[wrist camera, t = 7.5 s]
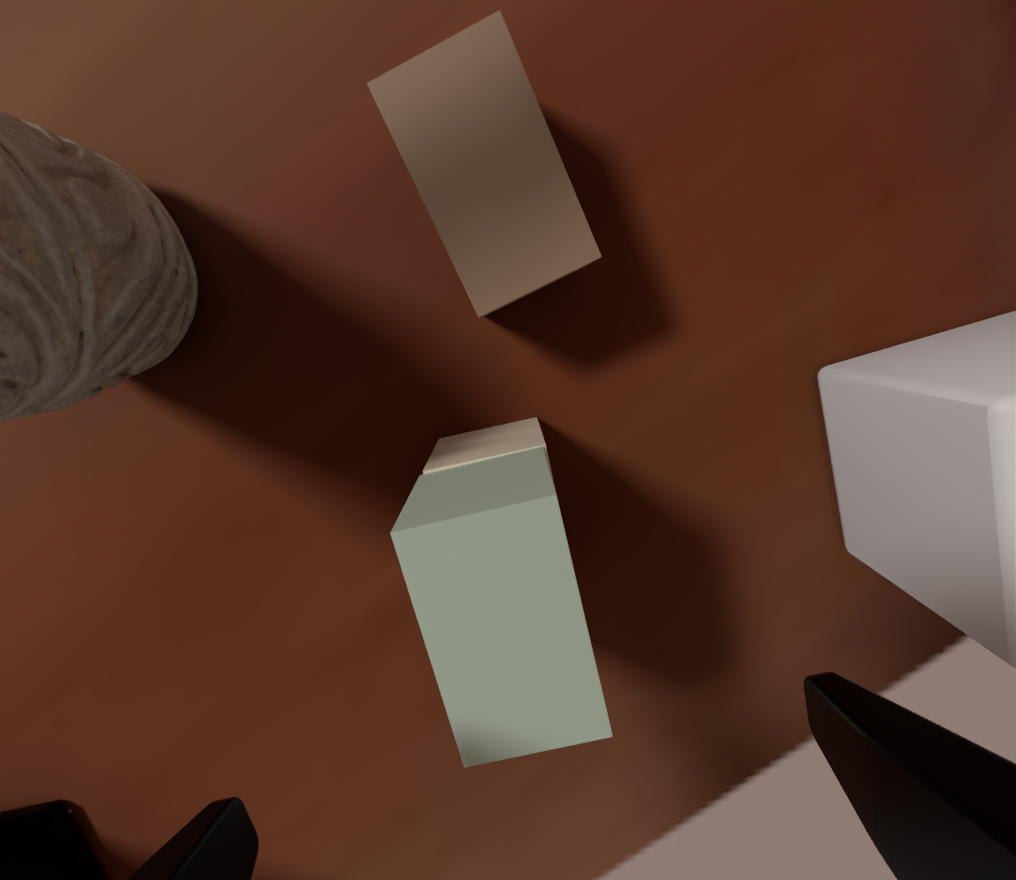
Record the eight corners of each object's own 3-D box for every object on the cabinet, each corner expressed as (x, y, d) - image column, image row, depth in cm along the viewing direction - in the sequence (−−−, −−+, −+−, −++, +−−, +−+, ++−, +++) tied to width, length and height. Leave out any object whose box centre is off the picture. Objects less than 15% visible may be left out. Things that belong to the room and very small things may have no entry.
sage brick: (586, 633, 16) (612, 736, 12) (473, 658, 16) (464, 767, 12) (542, 446, 15) (556, 494, 11) (419, 474, 15) (390, 533, 11)
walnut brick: (579, 269, 17) (601, 256, 14) (484, 316, 18) (478, 317, 14) (500, 82, 16) (499, 10, 12) (399, 137, 17) (366, 83, 13)
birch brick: (569, 570, 20) (586, 633, 16) (478, 589, 20) (472, 655, 16) (536, 416, 19) (545, 444, 15) (439, 438, 19) (422, 471, 15)
